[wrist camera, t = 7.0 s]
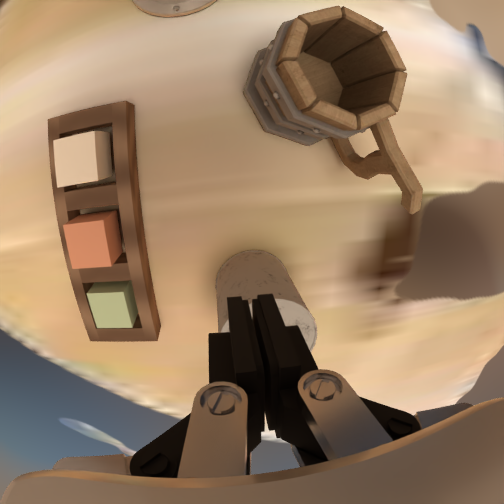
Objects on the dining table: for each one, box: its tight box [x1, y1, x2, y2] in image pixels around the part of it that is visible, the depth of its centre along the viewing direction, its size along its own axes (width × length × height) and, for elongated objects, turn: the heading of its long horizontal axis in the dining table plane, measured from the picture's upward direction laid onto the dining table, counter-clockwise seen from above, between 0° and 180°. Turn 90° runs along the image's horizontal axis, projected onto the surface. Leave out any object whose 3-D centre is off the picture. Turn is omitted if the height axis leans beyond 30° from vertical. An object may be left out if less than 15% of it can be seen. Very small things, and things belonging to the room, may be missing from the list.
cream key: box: [53, 131, 113, 188], centre depth 26 cm, size 5×5×4 cm
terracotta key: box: [63, 210, 123, 269], centre depth 29 cm, size 5×5×4 cm
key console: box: [48, 101, 161, 341], centre depth 32 cm, size 29×10×4 cm, turn 2°
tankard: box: [243, 6, 423, 214], centre depth 25 cm, size 20×13×15 cm, turn 28°
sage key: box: [87, 280, 138, 328], centre depth 34 cm, size 5×5×4 cm
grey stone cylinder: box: [216, 250, 317, 352], centre depth 33 cm, size 10×10×12 cm
